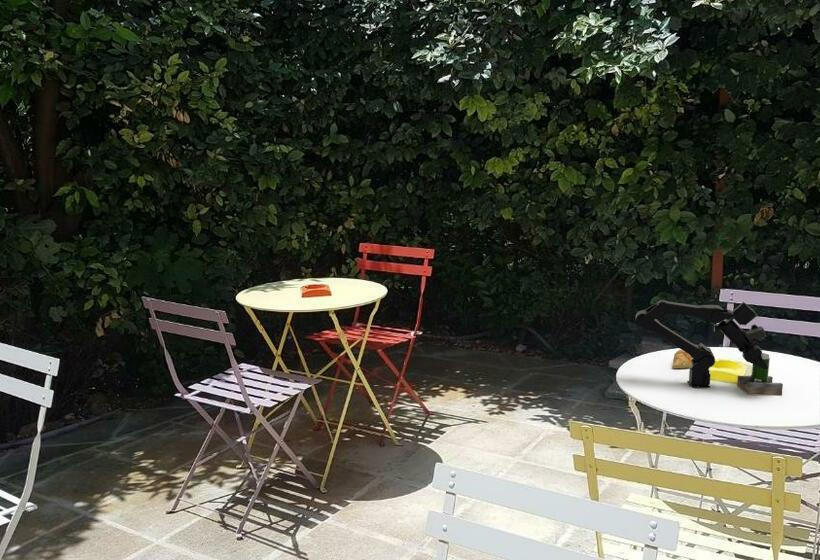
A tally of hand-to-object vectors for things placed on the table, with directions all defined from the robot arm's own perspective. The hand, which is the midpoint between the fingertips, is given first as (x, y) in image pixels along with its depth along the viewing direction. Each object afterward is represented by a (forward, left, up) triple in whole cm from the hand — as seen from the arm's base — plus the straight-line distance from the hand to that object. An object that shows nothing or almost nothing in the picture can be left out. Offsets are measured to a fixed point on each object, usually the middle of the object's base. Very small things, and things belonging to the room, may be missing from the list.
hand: (765, 365), depth 263 cm
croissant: (-17, +34, -10) cm, 39 cm away
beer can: (-1, 0, -8) cm, 8 cm away
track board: (-1, 0, -10) cm, 10 cm away
